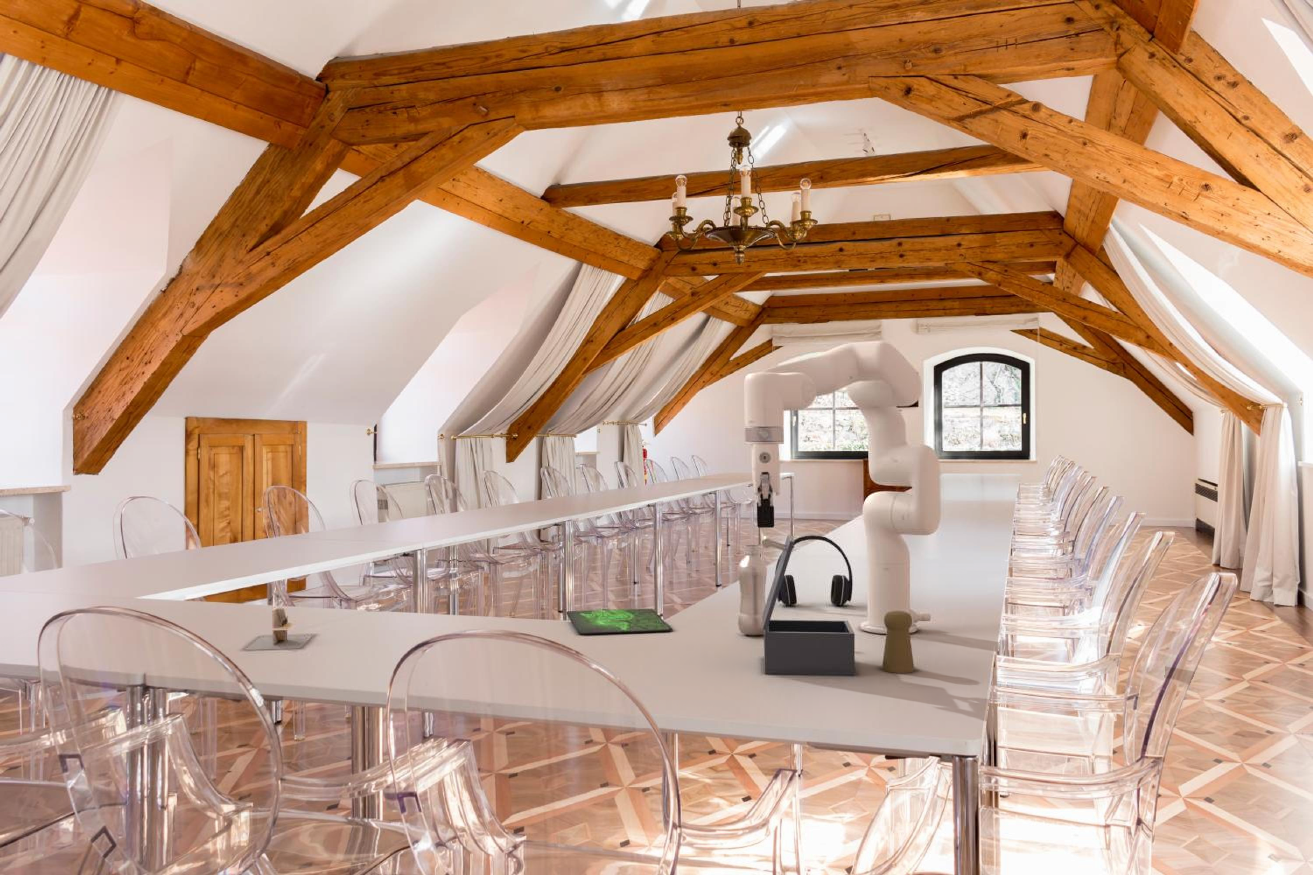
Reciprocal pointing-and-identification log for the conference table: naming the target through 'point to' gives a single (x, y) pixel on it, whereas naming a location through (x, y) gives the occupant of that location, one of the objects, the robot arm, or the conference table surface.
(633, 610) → the mouse mat
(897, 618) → the cork
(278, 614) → the architectural model
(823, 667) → the dark grey bin
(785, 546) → the box lid with handle
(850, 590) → the headphones
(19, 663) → the conference table surface
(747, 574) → the plastic bottle
